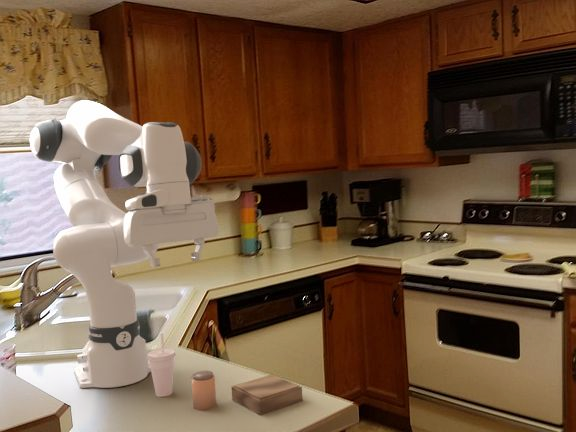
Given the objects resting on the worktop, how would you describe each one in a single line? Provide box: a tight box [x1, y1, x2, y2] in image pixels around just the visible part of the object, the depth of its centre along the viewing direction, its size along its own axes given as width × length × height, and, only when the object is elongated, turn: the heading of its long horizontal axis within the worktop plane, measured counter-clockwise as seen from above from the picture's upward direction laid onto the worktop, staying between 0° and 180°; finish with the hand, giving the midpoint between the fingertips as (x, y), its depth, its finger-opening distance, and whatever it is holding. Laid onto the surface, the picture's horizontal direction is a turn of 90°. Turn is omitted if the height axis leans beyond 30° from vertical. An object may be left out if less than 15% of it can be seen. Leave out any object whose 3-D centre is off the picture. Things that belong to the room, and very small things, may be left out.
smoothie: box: [147, 333, 177, 398], centre depth 139 cm, size 6×6×14 cm
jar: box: [190, 370, 217, 411], centre depth 131 cm, size 5×5×7 cm
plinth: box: [231, 374, 303, 416], centre depth 132 cm, size 11×11×3 cm
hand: (176, 263), depth 128 cm, fingers open, 8 cm apart
